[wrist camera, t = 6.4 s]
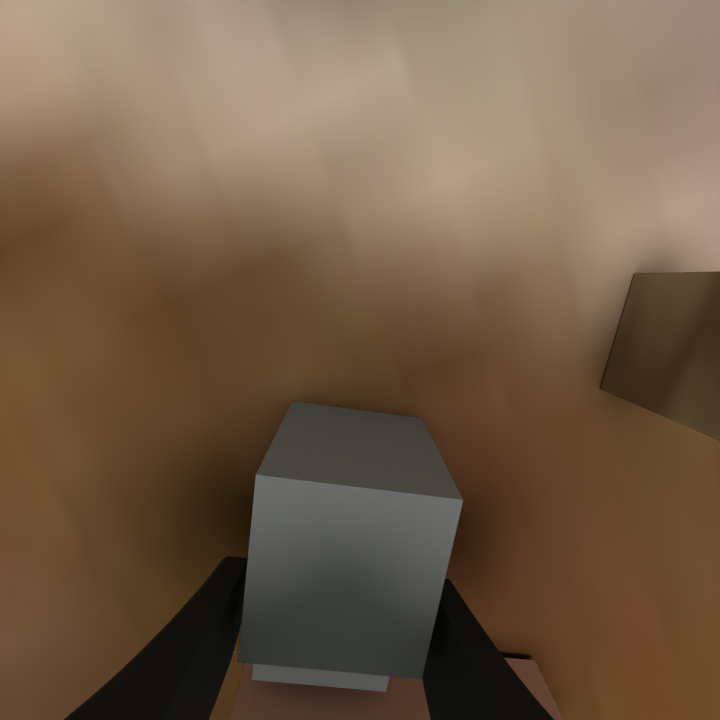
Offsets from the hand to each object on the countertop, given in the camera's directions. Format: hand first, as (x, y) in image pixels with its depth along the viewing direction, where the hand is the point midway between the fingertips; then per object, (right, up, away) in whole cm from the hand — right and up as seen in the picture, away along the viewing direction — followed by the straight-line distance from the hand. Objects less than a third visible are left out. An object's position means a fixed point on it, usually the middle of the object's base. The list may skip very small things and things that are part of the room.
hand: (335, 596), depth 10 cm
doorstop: (0, +1, +3) cm, 3 cm away
